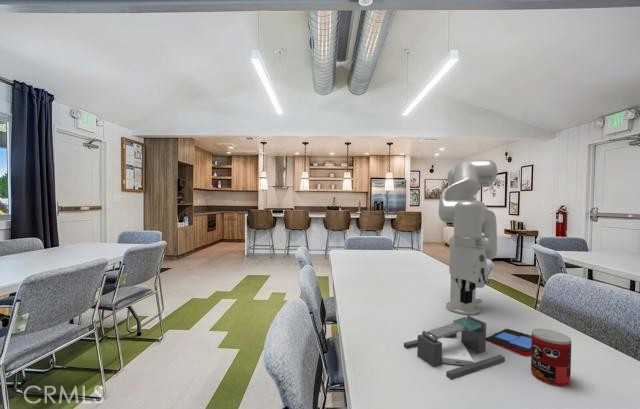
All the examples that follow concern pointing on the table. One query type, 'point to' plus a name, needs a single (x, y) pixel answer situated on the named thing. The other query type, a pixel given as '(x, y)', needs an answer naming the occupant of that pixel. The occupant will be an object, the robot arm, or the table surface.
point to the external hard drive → (455, 352)
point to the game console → (512, 341)
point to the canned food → (551, 356)
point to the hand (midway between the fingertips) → (466, 302)
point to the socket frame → (470, 339)
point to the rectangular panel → (452, 328)
